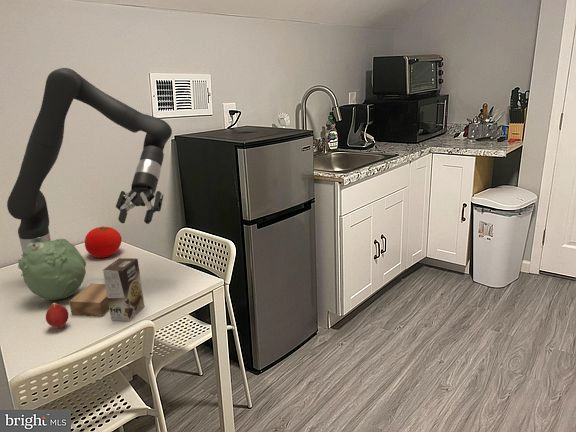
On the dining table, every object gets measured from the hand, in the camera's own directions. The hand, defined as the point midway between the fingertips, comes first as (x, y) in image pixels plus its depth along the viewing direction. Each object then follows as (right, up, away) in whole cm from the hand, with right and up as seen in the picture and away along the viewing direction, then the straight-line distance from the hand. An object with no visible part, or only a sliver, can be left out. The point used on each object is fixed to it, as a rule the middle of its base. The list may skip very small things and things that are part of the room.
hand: (134, 222), depth 143 cm
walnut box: (-12, -26, +2) cm, 29 cm away
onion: (-18, -30, -9) cm, 36 cm away
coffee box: (-1, -27, -3) cm, 27 cm away
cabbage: (-27, -25, +9) cm, 38 cm away
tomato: (-25, -14, +43) cm, 52 cm away
